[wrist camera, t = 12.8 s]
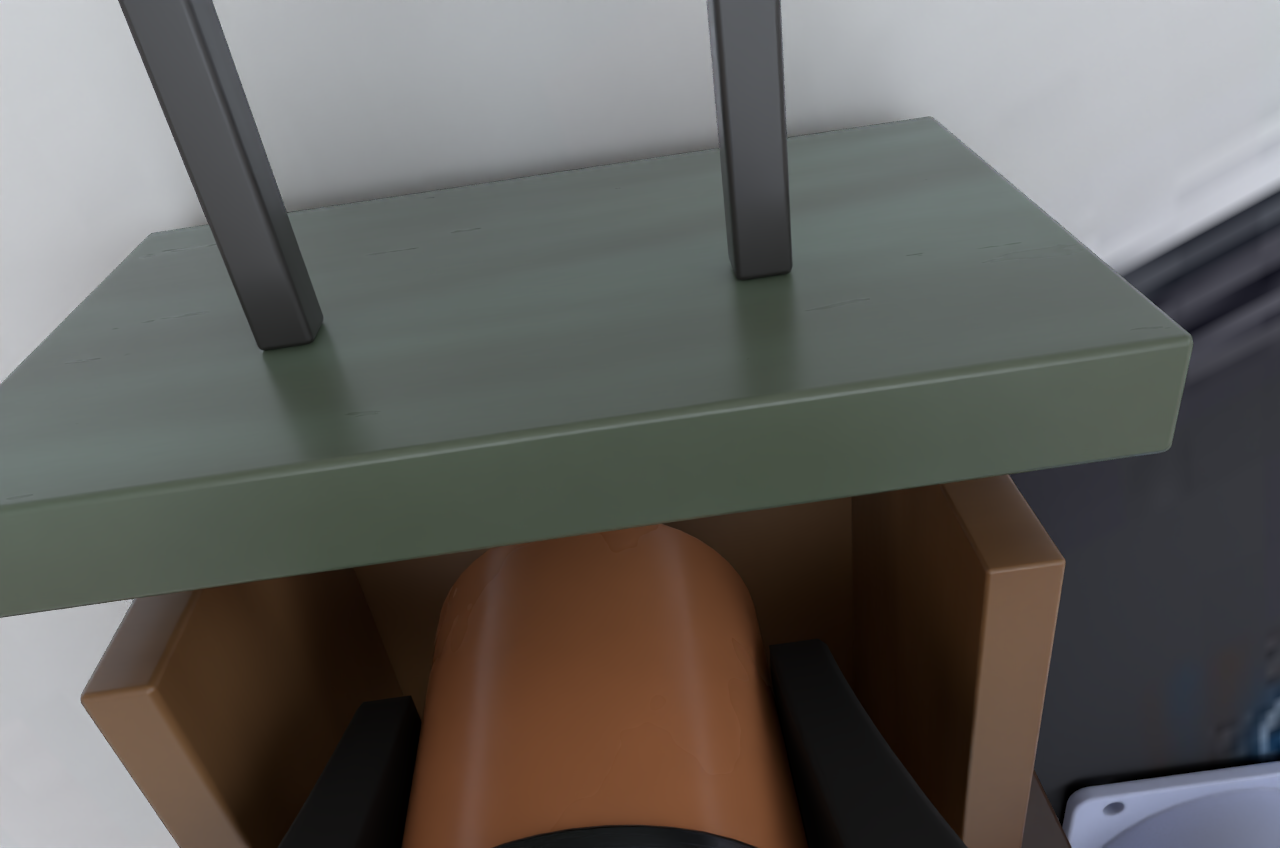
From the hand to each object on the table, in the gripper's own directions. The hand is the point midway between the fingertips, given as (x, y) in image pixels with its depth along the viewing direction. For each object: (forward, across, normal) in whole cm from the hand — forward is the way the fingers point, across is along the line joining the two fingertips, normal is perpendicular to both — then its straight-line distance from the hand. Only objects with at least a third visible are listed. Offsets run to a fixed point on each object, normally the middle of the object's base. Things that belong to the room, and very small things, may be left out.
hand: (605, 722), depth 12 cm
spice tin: (+1, 0, 0) cm, 1 cm away
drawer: (+5, 0, -2) cm, 6 cm away
